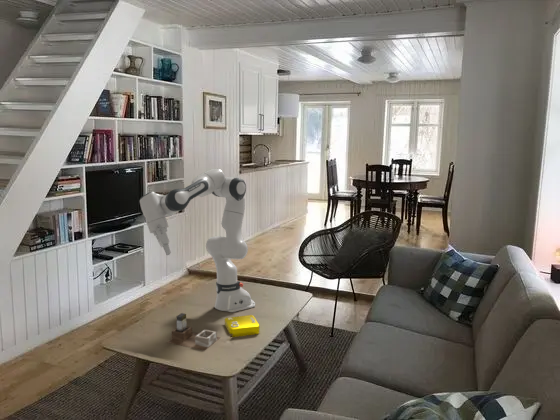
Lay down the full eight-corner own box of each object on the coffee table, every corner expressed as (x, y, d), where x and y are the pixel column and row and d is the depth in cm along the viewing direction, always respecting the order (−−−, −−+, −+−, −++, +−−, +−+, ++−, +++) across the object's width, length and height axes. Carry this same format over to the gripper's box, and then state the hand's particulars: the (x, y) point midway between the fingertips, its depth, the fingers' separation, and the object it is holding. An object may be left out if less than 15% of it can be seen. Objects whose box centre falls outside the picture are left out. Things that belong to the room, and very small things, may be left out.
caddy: (184, 333, 225) (184, 322, 224) (220, 340, 218) (220, 329, 217) (166, 345, 212) (166, 334, 211) (204, 353, 205) (204, 341, 204)
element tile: (260, 334, 225) (260, 325, 224) (229, 338, 221) (229, 328, 220) (253, 322, 239) (253, 313, 238) (224, 325, 235) (223, 316, 234)
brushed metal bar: (182, 335, 219) (181, 313, 218) (186, 336, 218) (186, 313, 217) (177, 338, 216) (176, 316, 214) (181, 339, 215) (181, 317, 213)
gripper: (165, 221, 207) (176, 250, 207) (164, 226, 227) (174, 253, 226) (151, 226, 206) (162, 255, 205) (152, 230, 225) (162, 257, 225)
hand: (168, 254), depth 216 cm, fingers open, 8 cm apart
